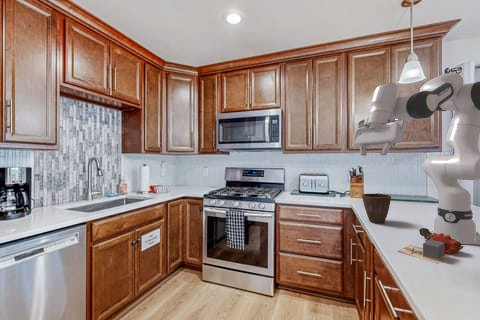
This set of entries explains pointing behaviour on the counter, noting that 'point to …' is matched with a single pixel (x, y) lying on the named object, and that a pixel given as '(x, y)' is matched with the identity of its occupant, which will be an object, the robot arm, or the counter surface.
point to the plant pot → (376, 207)
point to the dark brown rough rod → (424, 232)
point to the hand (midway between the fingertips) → (372, 155)
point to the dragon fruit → (446, 242)
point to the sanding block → (433, 250)
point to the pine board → (418, 253)
